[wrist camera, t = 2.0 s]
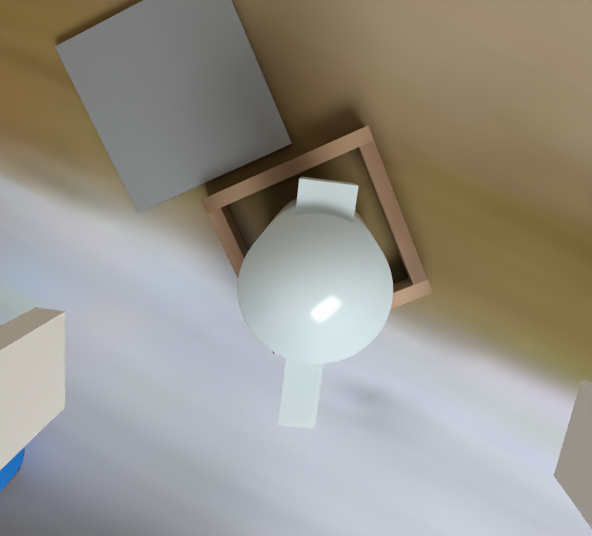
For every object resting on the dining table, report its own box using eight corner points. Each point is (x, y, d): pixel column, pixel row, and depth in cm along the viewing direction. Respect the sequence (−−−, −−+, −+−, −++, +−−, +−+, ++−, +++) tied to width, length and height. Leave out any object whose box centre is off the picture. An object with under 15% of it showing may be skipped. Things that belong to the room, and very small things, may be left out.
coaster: (141, 211, 34) (137, 212, 33) (59, 48, 32) (54, 46, 31) (292, 143, 32) (291, 143, 32) (217, -35, 30) (215, -38, 29)
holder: (276, 342, 36) (273, 353, 34) (208, 197, 33) (200, 199, 31) (426, 285, 34) (432, 292, 32) (365, 127, 32) (368, 125, 30)
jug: (277, 166, 33) (247, 172, 20) (377, 178, 32) (410, 192, 20) (258, 344, 36) (223, 446, 23) (349, 356, 36) (363, 466, 23)
